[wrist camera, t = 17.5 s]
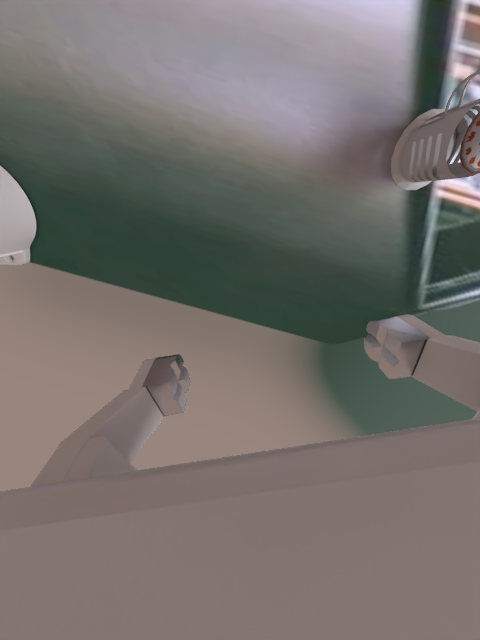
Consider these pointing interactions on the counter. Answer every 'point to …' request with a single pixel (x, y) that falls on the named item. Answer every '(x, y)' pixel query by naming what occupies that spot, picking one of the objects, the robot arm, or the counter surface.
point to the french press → (438, 145)
